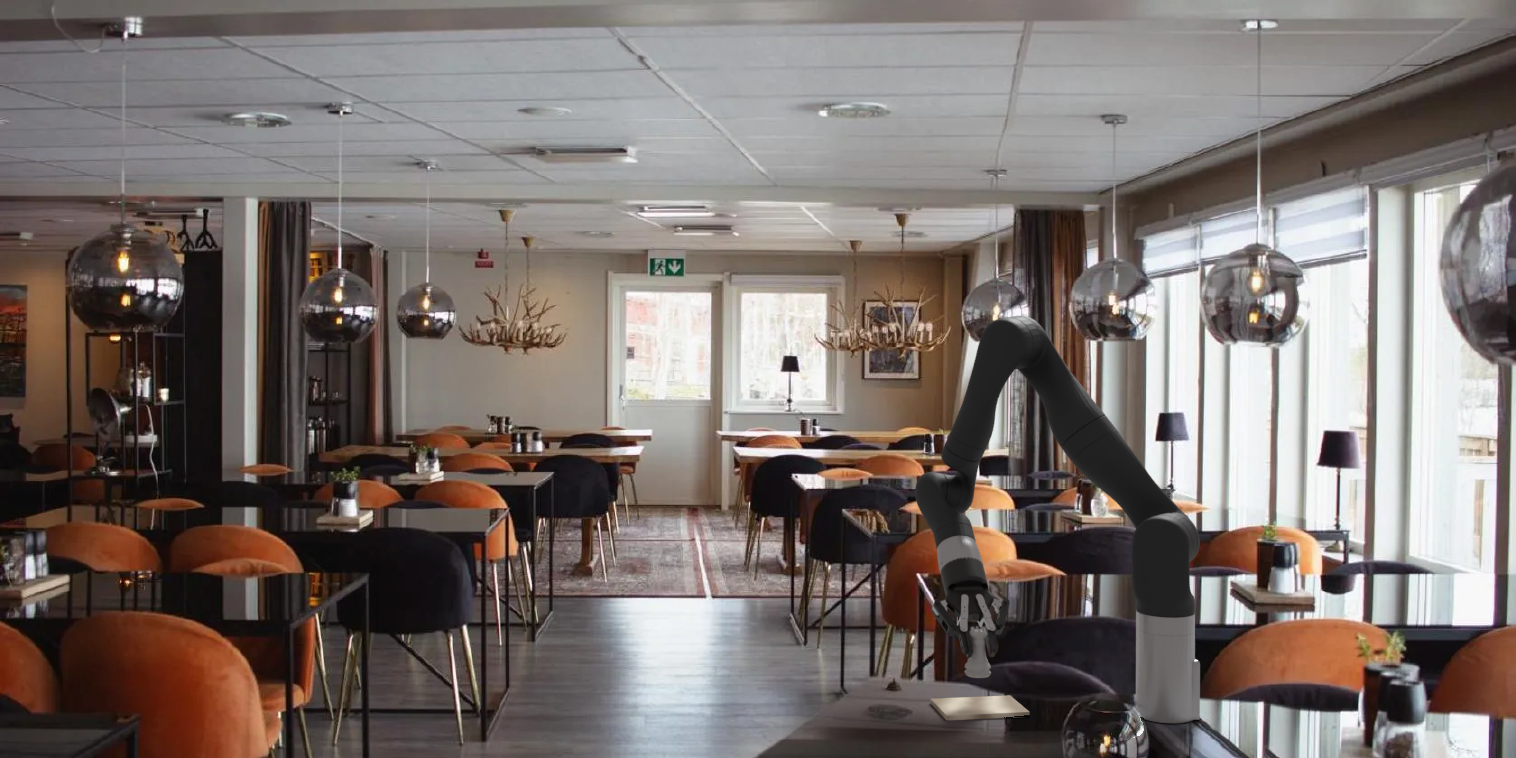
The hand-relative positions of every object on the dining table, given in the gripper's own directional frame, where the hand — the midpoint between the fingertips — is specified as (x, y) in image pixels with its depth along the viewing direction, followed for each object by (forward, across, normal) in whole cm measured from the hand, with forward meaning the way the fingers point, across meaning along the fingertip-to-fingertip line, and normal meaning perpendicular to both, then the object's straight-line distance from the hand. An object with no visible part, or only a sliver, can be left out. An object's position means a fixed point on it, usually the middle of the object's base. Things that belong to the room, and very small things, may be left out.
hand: (981, 654), depth 215 cm
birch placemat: (+6, 0, +8) cm, 10 cm away
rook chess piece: (+2, 0, +4) cm, 5 cm away
